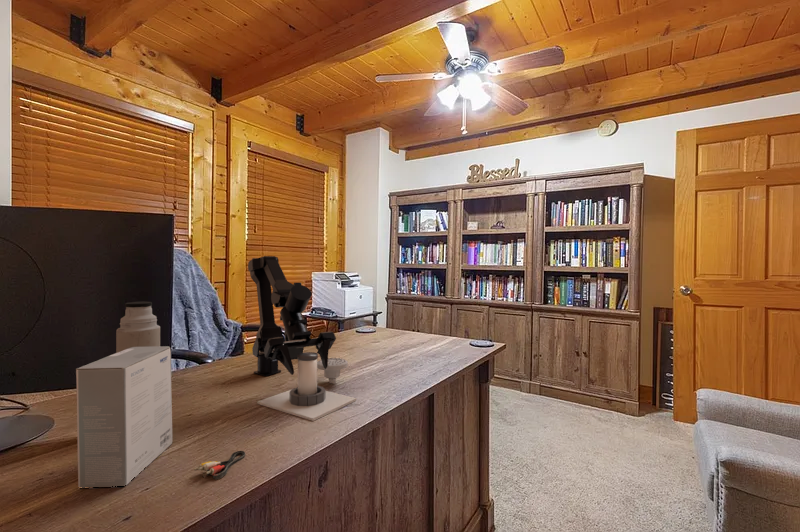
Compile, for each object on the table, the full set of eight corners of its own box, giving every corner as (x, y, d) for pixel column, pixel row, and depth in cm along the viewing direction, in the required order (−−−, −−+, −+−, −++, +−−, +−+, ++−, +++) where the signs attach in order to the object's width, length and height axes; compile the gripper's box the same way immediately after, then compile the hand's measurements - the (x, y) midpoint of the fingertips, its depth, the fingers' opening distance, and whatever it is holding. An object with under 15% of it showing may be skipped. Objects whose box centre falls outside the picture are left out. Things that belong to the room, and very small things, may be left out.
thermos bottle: (142, 419, 90) (143, 299, 90) (168, 424, 87) (168, 301, 87) (107, 433, 82) (107, 302, 82) (134, 439, 80) (134, 304, 79)
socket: (257, 403, 100) (257, 392, 100) (303, 387, 114) (303, 377, 114) (313, 421, 89) (313, 408, 89) (356, 400, 103) (356, 389, 103)
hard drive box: (133, 445, 77) (133, 346, 77) (173, 443, 78) (173, 345, 78) (74, 490, 62) (74, 366, 62) (125, 488, 62) (125, 366, 62)
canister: (294, 403, 99) (294, 356, 99) (300, 396, 104) (300, 352, 104) (314, 403, 99) (315, 357, 99) (319, 396, 104) (319, 352, 104)
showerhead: (311, 362, 114) (322, 354, 124) (311, 387, 114) (321, 377, 124) (343, 363, 113) (350, 355, 123) (343, 388, 113) (350, 378, 123)
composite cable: (239, 454, 75) (239, 441, 75) (257, 460, 72) (257, 447, 72) (191, 479, 66) (191, 464, 66) (210, 486, 64) (210, 472, 64)
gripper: (316, 336, 119) (332, 380, 111) (254, 343, 108) (266, 393, 99) (327, 314, 113) (345, 359, 104) (263, 319, 102) (277, 370, 93)
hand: (309, 371), depth 100 cm, fingers open, 9 cm apart
